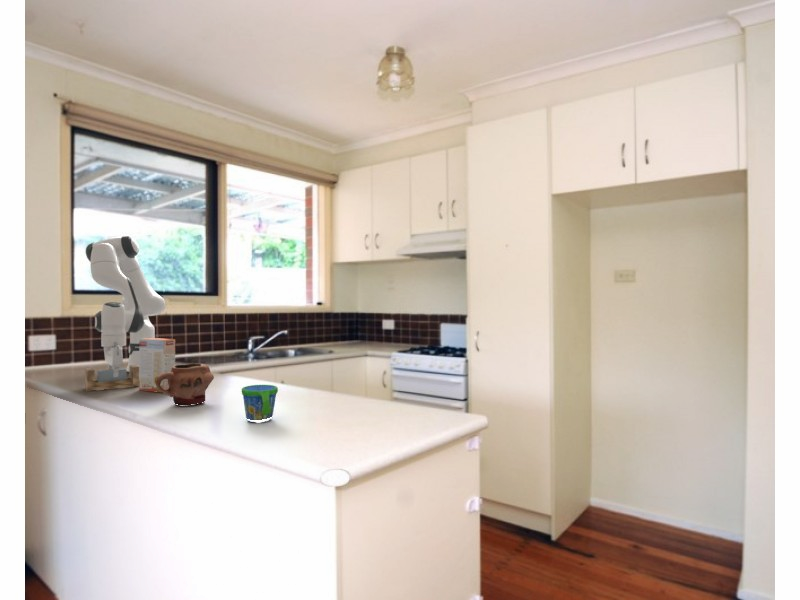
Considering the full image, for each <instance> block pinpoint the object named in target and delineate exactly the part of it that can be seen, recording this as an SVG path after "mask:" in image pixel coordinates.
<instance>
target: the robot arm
mask: <svg viewBox="0 0 800 600" xmlns="http://www.w3.org/2000/svg"><path fill="white" fill-rule="evenodd" d="M139 250H140V249H139V244H138V242H137V240H136V238H135V237H134V236H132V235H122V236H116V237H115V236H114V237H107V239H101V240H99V241H94V242H91V243H89V244H87V245H86V248H85V255H86V259H88V261H89V263H90V273H91V278H92V279H93V281H94V282H95V283H96V284H98V285H100V286H101V287H104V288H108V289H111V290H113V291H116V292H118V293H120V294H121V295H122V296H123V297H122V299H121V300H120V302H115V301H114V302H113V301H111V302H105V303H104V304H103V305H102V310H99V311H98V312H97V313H96V314H94V329H95V330H97V332H99V333H100V332H101V335H100V337H101V338H100V340H101V341H100V343H101V345H100V346H101V347H103V353H104V354H103V355H104V360H105V362H106V363H107V365H108V370H113V377H118V372H119V369H120V367H123V364H124V358H123V357H124V355H123V353H124V352H123V347H125V346H127V333H129V343H128V354H129V357H128V364H127V367H126V369H127V372H128V373H130V365H137V366H139V347H140V339H143V338H156V336H155V335H156V334H155V333H156V331H155V330H156V329H155V325H153V324H152V322H151V320H150V318H149V317H152V316H157V315H160V314H163V312H164V311H165V310H166V301H165V299H164V297H162V296H161V295H159V294H158V293H157V292H156V290H154V288H152V286H151V285H150V283H149V282H148V281H147V279H146V276H145V274H144V272H143V270H142V269H143V268H141V264H140V263H139V261H138V259H137V255H138V254H139V252H140V251H139ZM127 372H126V373H127Z"/></svg>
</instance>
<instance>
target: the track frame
mask: <svg viewBox="0 0 800 600" xmlns="http://www.w3.org/2000/svg"><path fill="white" fill-rule="evenodd" d="M134 386H139V366H137V365H130V372H129V377H126V380H117V381H105V382H98V379H97V380H96V379H95V369H94V367H85V369H84V389H85V388H86V389H85V390H86V392H92V391H91V390H96V391H103V390H104V389H107V390H115V389H114V388H118V389H125V388H124V387H129V388H135V387H134Z"/></svg>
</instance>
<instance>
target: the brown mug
mask: <svg viewBox="0 0 800 600" xmlns="http://www.w3.org/2000/svg"><path fill="white" fill-rule="evenodd" d="M214 376H215V375H214V374H213V373H212V372H211V369H210V367H209V366H208V365H207V364H204V363H188V364H178V365H177V364H175V366H173V367H172V369H171V372H169V373H164V374H161V375H160V376H159V377H158V378H157V380H156V386H157V388H158V389H159V390H160V391H161V392H163V393H162V394H164V395H165V396H168V397H170V398H173V399H172V400H173V404H174V403H175V404H178V405H191V404H197V403H202V402H204V401H205V402H206V391H207V389H208V388H209V385H210V384H212V382H213V380H214V379H215V377H214ZM164 379H168V385H169V389H168V390H164V389H162V388H161V386H160V384H161V381H162V380H164ZM205 402H204V403H205ZM175 404H174V405H175ZM202 404H203V403H202Z"/></svg>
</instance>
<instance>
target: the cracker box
mask: <svg viewBox="0 0 800 600" xmlns="http://www.w3.org/2000/svg"><path fill="white" fill-rule="evenodd" d="M173 366H176V339H174V338H161V337H160V338H159V337H155V338H143V339H140V347H139V387H138V391H142V390H146V392H151V391H157V392H156V393H159V392H161V391H160V390H159V389H158V388H157V386H156V380H157V378H158V377H159V376H160V375H161V374H164V373H169V372H171V369H172V367H173ZM160 386H161V388H162V389H164V390H168V389H169V385H168V379H164V380H162V381H161V384H160Z"/></svg>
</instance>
